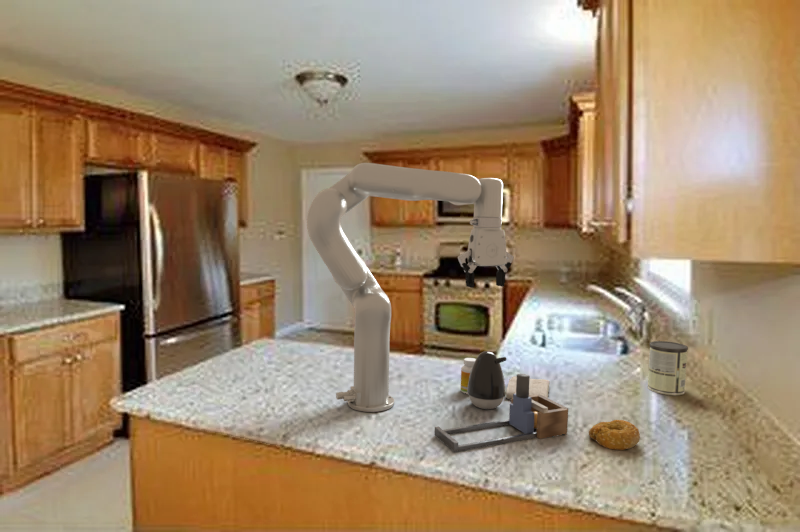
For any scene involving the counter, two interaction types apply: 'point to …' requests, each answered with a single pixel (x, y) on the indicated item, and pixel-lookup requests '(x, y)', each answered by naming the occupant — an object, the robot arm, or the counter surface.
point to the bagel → (615, 434)
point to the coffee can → (667, 367)
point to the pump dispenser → (486, 381)
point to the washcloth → (534, 387)
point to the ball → (535, 420)
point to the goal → (549, 416)
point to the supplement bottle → (466, 373)
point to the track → (454, 446)
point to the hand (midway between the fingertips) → (485, 286)
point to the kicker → (522, 406)
